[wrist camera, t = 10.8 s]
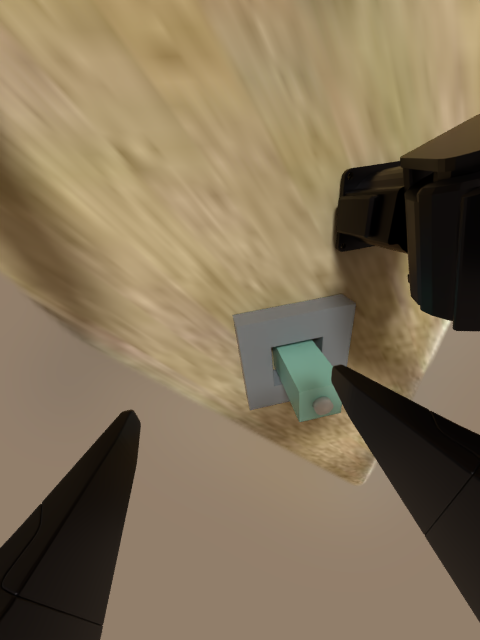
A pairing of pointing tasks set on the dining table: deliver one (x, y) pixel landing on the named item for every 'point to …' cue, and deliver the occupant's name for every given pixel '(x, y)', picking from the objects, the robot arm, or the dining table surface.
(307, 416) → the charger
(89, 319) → the dining table surface
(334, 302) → the plate
